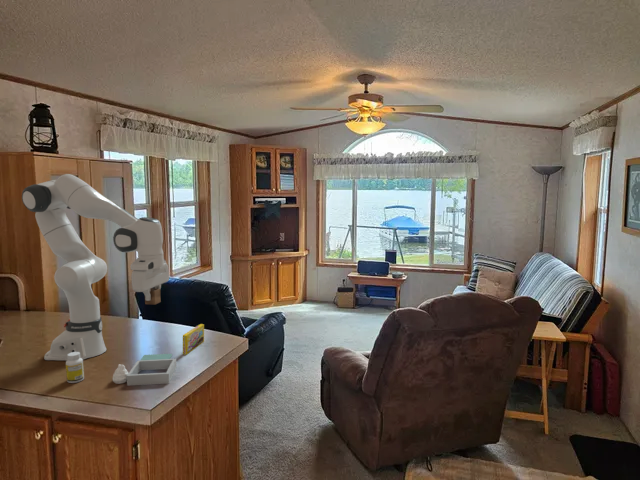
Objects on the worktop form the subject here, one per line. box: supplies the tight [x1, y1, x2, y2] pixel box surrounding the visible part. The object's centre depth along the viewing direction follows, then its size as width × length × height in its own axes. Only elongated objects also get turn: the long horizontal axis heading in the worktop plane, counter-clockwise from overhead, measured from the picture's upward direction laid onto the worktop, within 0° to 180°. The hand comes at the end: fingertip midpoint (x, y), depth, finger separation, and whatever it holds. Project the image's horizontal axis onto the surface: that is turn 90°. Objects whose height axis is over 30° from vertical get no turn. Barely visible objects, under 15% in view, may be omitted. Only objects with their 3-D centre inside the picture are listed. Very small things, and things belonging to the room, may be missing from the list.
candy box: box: [182, 323, 205, 356], centre depth 194 cm, size 16×2×8 cm, turn 168°
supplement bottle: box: [65, 352, 85, 384], centre depth 161 cm, size 5×5×10 cm
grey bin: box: [126, 358, 177, 387], centre depth 165 cm, size 14×14×4 cm
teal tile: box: [140, 353, 173, 360], centre depth 179 cm, size 11×11×1 cm
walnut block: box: [144, 288, 162, 305], centre depth 169 cm, size 4×4×5 cm
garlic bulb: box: [112, 363, 129, 384], centre depth 161 cm, size 6×6×5 cm
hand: (152, 298), depth 170 cm, fingers closed on walnut block, 4 cm apart
